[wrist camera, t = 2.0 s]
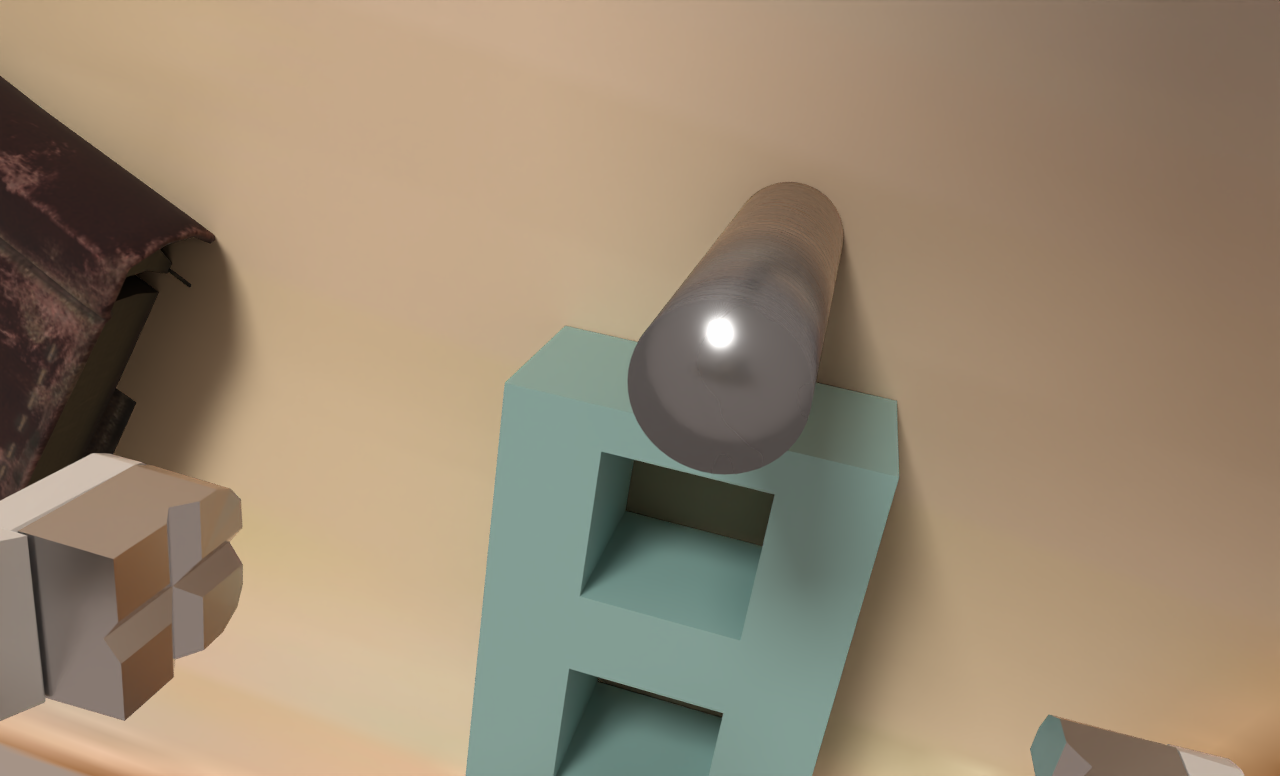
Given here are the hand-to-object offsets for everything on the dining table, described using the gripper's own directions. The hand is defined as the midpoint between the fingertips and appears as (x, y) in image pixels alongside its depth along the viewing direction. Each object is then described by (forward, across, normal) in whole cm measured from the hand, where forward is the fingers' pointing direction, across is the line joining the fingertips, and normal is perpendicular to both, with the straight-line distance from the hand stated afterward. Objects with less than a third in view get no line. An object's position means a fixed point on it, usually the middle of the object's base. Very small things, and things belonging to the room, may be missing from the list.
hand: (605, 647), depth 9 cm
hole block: (+19, +1, +10) cm, 21 cm away
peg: (+18, 0, -1) cm, 19 cm away
